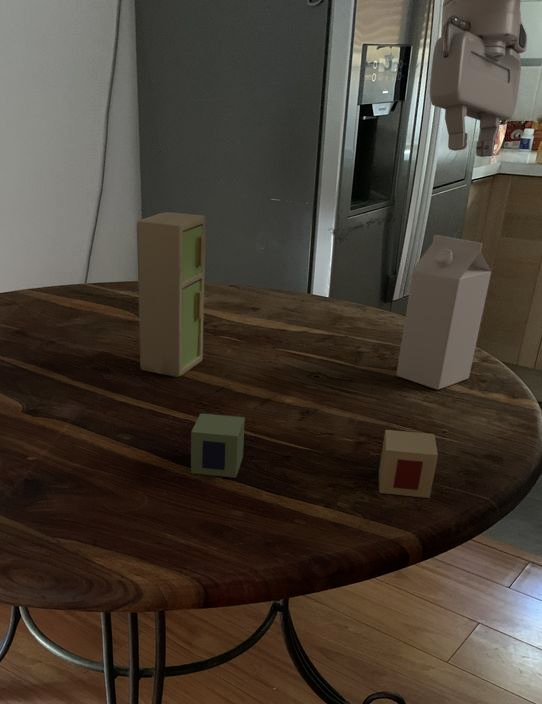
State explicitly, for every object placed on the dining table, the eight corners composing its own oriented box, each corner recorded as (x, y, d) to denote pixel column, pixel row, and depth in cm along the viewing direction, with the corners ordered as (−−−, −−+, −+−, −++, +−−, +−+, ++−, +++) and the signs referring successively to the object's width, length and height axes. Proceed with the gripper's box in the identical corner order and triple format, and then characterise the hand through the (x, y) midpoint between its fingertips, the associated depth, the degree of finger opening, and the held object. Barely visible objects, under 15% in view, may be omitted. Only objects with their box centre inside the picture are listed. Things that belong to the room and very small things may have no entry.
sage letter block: (242, 457, 84) (244, 417, 81) (235, 478, 79) (237, 436, 77) (199, 453, 85) (200, 413, 82) (190, 473, 80) (190, 432, 78)
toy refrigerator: (183, 379, 105) (183, 224, 94) (139, 370, 108) (134, 220, 98) (208, 362, 111) (211, 215, 100) (165, 354, 114) (164, 211, 104)
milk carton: (426, 365, 109) (450, 231, 99) (468, 379, 104) (498, 239, 94) (395, 376, 105) (417, 238, 95) (437, 391, 100) (465, 246, 90)
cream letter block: (426, 475, 79) (434, 433, 77) (429, 499, 75) (438, 455, 72) (378, 471, 80) (385, 429, 78) (379, 493, 76) (385, 450, 74)
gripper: (474, 3, 81) (465, 141, 85) (531, 39, 95) (522, 155, 99) (418, 18, 85) (413, 149, 89) (482, 51, 99) (474, 162, 103)
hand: (471, 153), depth 94 cm, fingers open, 8 cm apart
